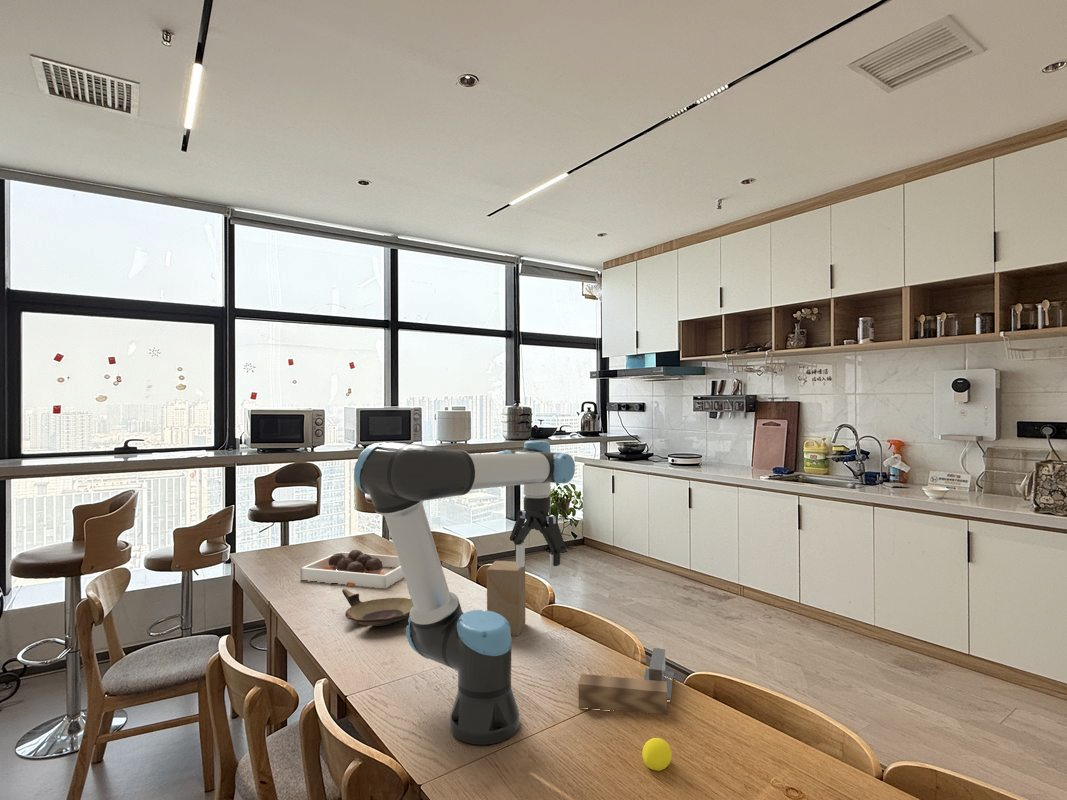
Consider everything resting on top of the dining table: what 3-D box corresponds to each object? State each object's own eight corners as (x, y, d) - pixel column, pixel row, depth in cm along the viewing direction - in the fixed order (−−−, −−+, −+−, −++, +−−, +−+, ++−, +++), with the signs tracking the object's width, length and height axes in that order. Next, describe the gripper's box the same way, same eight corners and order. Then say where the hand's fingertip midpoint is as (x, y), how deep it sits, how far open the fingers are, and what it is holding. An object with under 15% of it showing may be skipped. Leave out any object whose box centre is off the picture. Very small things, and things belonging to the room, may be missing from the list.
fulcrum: (670, 702, 137) (670, 673, 137) (640, 698, 139) (640, 669, 139) (673, 675, 150) (673, 648, 150) (646, 672, 152) (645, 645, 152)
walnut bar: (666, 707, 136) (666, 681, 136) (667, 718, 131) (667, 692, 131) (581, 698, 140) (581, 673, 140) (578, 709, 135) (578, 683, 135)
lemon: (659, 782, 109) (658, 753, 109) (635, 769, 113) (635, 741, 113) (679, 765, 114) (679, 738, 114) (655, 754, 117) (655, 727, 117)
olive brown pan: (363, 643, 172) (363, 617, 172) (329, 614, 196) (329, 591, 196) (431, 625, 185) (431, 601, 185) (392, 599, 209) (392, 578, 209)
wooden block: (518, 637, 175) (518, 570, 175) (486, 634, 177) (486, 569, 177) (525, 624, 185) (525, 561, 185) (495, 622, 187) (495, 560, 187)
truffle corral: (385, 589, 221) (385, 575, 221) (300, 580, 231) (300, 568, 231) (417, 569, 245) (417, 557, 245) (339, 562, 256) (339, 551, 256)
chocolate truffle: (321, 572, 244) (321, 552, 244) (359, 565, 255) (358, 545, 255) (350, 588, 223) (350, 566, 223) (389, 579, 234) (389, 558, 234)
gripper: (579, 499, 156) (579, 579, 156) (517, 489, 175) (516, 560, 174) (559, 502, 151) (559, 584, 151) (498, 492, 169) (497, 565, 169)
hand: (536, 572), depth 163 cm, fingers open, 13 cm apart
